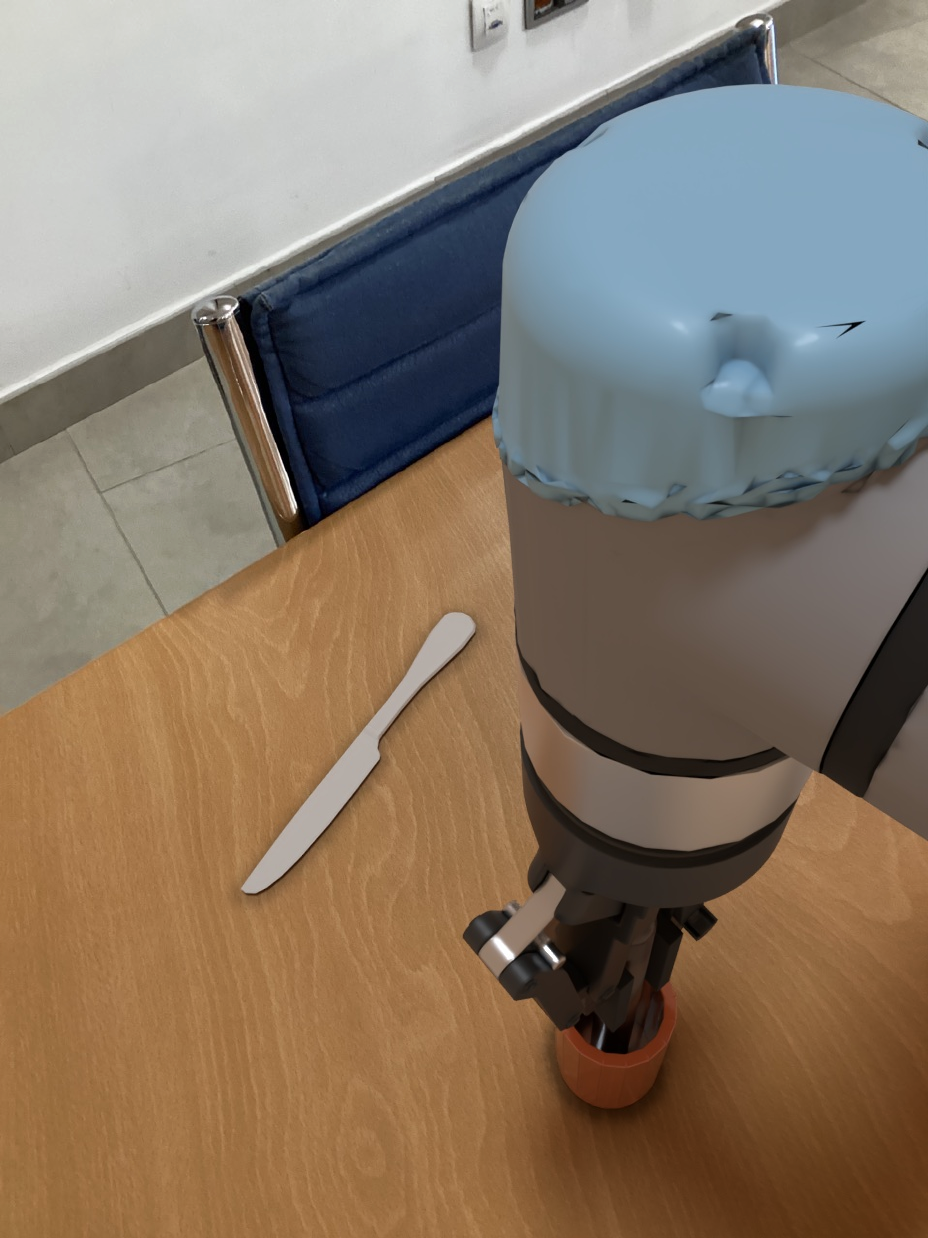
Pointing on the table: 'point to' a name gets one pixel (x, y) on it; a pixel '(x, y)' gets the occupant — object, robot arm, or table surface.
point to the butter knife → (358, 755)
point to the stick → (637, 968)
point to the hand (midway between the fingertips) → (619, 982)
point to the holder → (619, 1074)
